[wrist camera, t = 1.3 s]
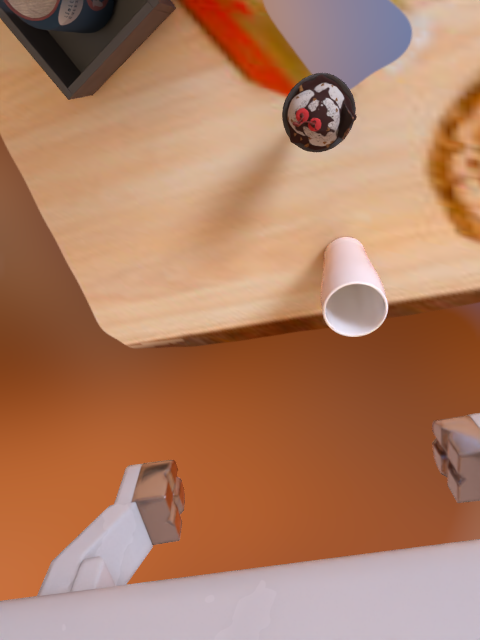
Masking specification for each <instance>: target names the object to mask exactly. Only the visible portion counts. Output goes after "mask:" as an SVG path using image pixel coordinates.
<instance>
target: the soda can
mask: <svg viewBox="0 0 480 640" xmlns="http://www.w3.org/2000/svg"><path fill="white" fill-rule="evenodd" d="M4 2H5V3H6V5H7V6H8V7H9V8H10V9H11V10H12V11H13V12H14V13H15V14H16V15H17V16H18V17H19V18H20V19H21V20H23V21H24V22H25V23H27V24H28V25H30V26H32V27H35V28H38V29H42V30H53V31H64V32H75V33H94V32H97V31H99V30H100V29H102V28H103V27H104V26H105V25H106V24H107V22H108V21H109V19H110V17H111V15H112V12H113V7H114V0H4Z"/></svg>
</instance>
